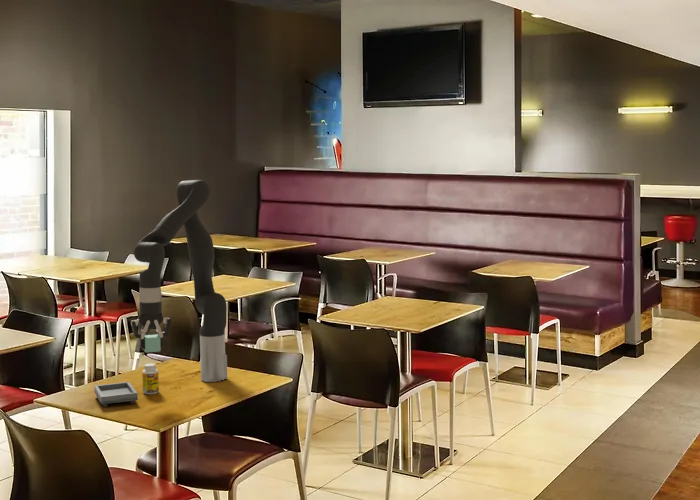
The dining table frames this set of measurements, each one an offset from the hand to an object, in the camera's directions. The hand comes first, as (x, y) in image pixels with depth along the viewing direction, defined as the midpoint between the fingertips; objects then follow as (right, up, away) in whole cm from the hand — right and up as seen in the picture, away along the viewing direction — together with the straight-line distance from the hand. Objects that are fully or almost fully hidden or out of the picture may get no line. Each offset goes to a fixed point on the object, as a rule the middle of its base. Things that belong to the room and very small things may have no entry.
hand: (151, 348), depth 305 cm
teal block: (0, -1, 0) cm, 1 cm away
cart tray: (-12, -18, +1) cm, 22 cm away
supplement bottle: (-2, -17, +10) cm, 20 cm away
